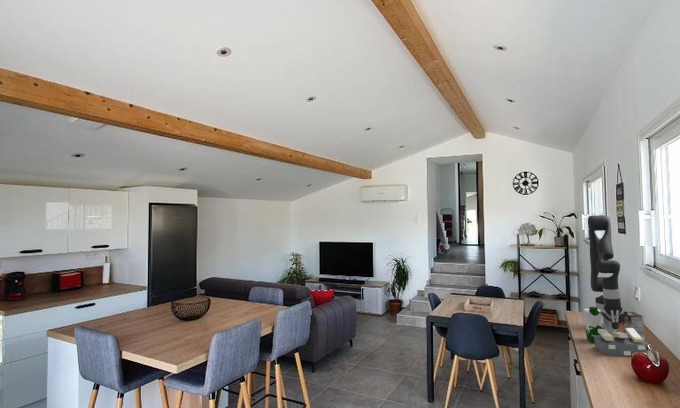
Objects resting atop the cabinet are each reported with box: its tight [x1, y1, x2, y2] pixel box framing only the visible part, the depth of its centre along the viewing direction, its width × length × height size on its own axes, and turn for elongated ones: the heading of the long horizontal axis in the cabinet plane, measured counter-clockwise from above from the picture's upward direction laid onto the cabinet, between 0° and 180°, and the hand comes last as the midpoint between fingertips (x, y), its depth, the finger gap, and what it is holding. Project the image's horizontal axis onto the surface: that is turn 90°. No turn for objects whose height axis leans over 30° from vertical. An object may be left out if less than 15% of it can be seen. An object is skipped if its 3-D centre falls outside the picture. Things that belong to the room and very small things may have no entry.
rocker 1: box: [598, 329, 615, 341], centre depth 199 cm, size 10×4×2 cm, turn 165°
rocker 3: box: [625, 328, 643, 342], centre depth 195 cm, size 10×4×2 cm, turn 166°
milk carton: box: [582, 306, 604, 344], centre depth 215 cm, size 9×9×20 cm
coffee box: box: [622, 311, 646, 342], centre depth 209 cm, size 9×6×16 cm
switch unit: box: [594, 336, 650, 357], centre depth 197 cm, size 13×20×7 cm, turn 74°
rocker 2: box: [611, 331, 628, 338], centre depth 197 cm, size 10×4×2 cm, turn 164°
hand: (615, 328), depth 202 cm, fingers closed
